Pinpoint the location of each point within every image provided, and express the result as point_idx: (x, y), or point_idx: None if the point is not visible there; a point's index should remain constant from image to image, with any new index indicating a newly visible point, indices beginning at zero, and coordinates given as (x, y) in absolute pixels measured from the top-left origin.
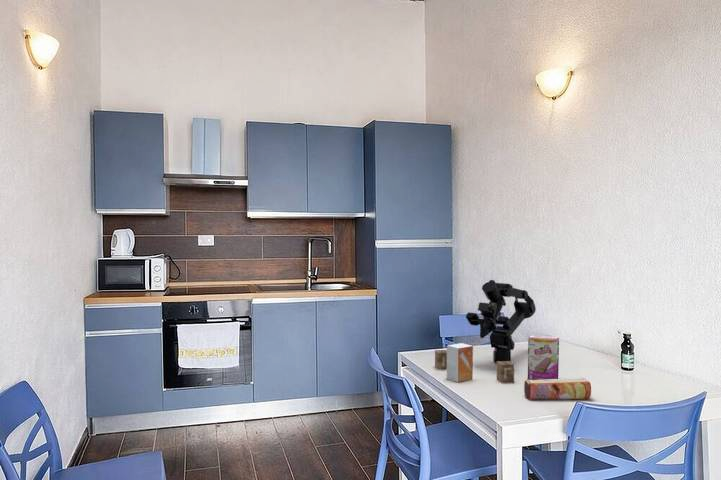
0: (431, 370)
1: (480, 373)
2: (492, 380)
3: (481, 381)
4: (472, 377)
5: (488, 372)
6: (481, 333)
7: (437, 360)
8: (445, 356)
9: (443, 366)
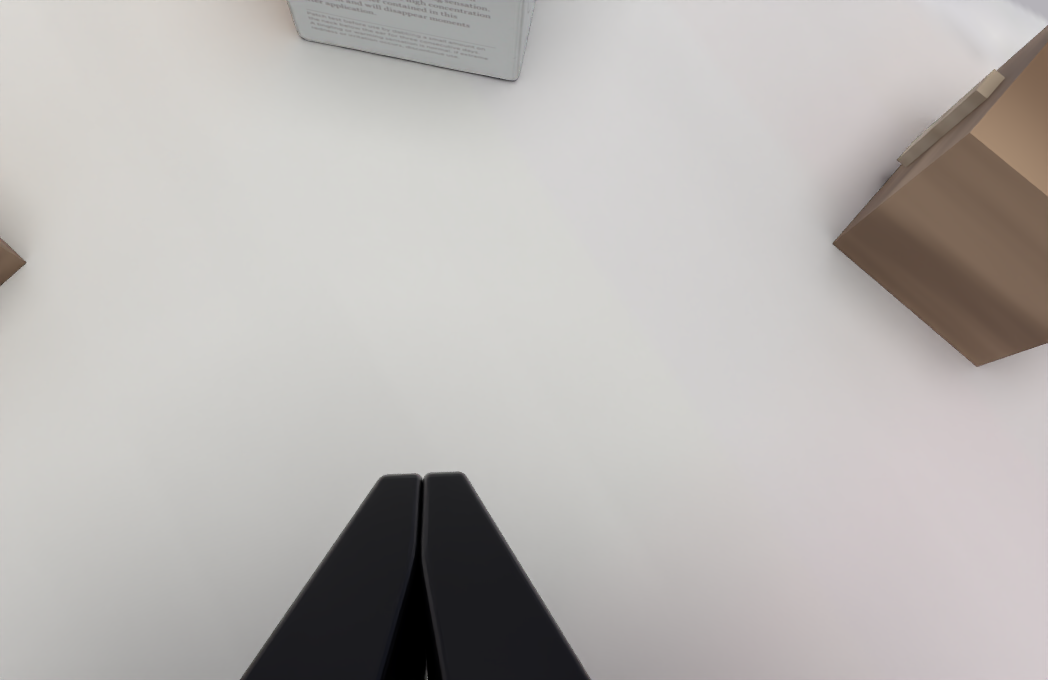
0: (967, 43)
1: (376, 381)
2: (53, 175)
3: (155, 36)
4: (294, 22)
5: (310, 522)
6: (438, 551)
7: (1019, 53)
8: (975, 112)
9: (907, 161)
